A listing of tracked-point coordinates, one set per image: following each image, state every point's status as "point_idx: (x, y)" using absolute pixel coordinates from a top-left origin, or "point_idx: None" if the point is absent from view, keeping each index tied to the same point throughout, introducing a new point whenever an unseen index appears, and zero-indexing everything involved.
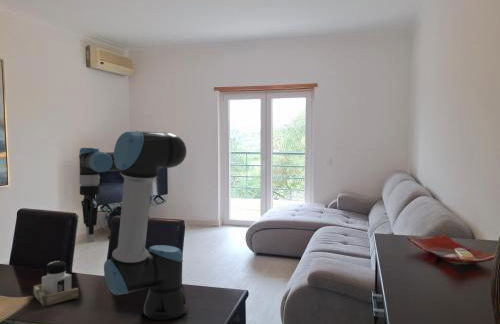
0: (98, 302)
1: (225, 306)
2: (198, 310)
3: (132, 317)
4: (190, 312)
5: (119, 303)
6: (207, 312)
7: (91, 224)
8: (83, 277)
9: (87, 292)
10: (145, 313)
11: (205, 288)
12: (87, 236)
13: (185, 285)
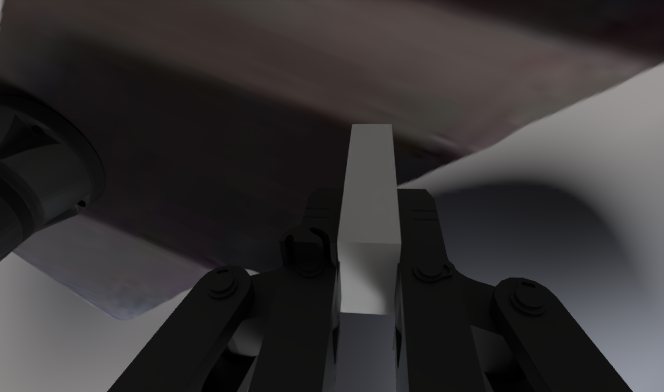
0: (187, 9)
1: (40, 258)
2: None
3: (10, 59)
4: None
5: (145, 74)
6: None
7: (199, 297)
8: (554, 69)
9: (331, 10)
10: (2, 98)
11: (165, 288)
12: (348, 158)
13: None
